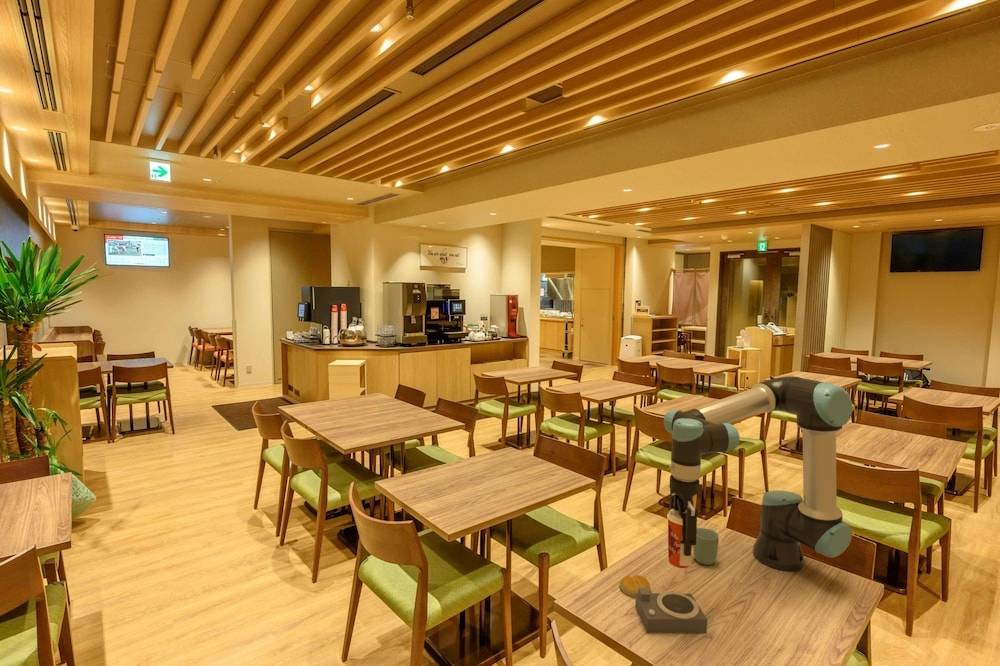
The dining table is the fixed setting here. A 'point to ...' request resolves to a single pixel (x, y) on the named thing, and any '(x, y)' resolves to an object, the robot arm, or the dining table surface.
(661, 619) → the block
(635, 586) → the bread roll
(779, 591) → the dining table surface
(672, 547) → the paper cup
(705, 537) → the cup
